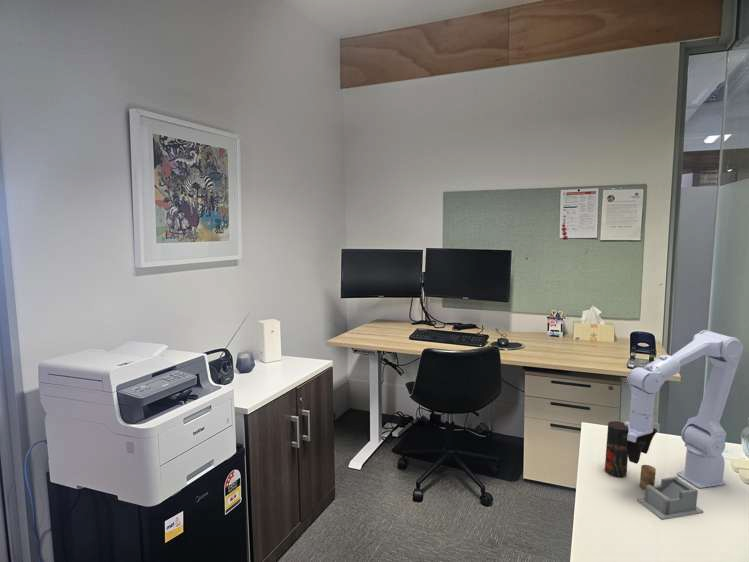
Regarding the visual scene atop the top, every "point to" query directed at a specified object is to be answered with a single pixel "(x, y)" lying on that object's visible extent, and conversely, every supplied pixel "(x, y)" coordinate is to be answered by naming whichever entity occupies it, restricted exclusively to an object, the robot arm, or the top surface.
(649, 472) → the dowel
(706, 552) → the top surface
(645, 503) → the socket
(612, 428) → the deodorant
